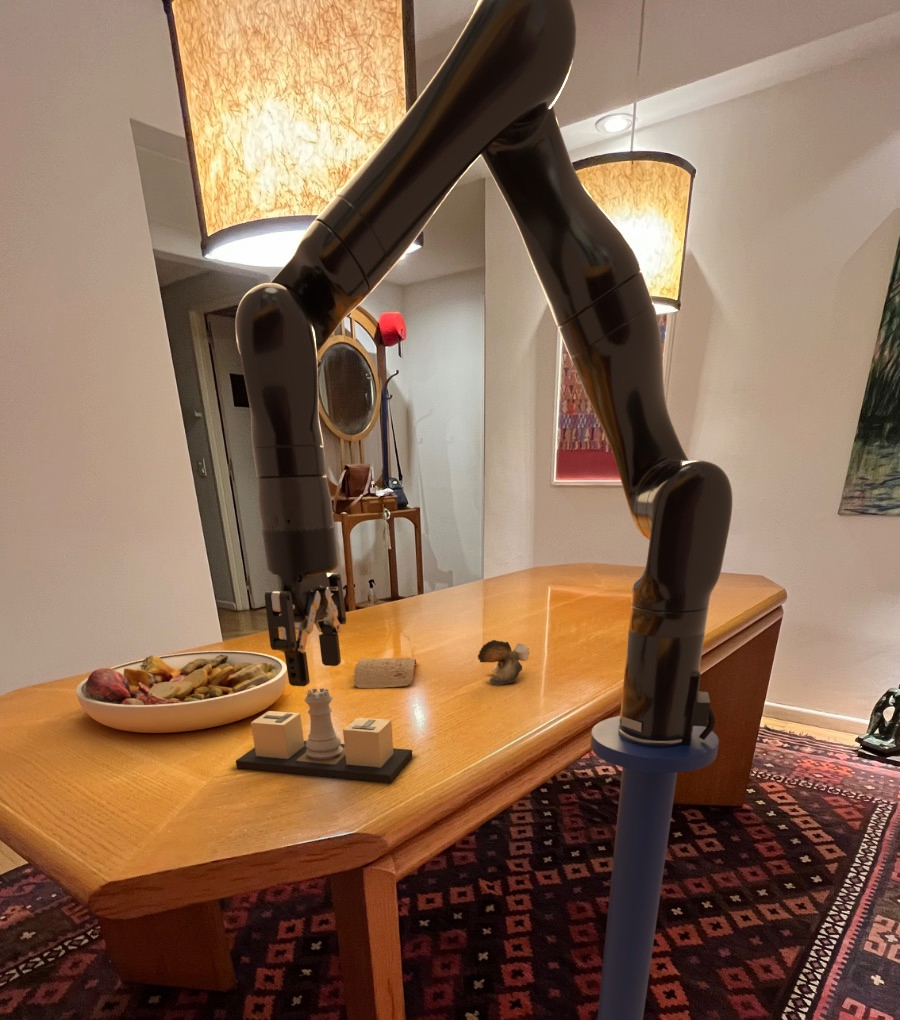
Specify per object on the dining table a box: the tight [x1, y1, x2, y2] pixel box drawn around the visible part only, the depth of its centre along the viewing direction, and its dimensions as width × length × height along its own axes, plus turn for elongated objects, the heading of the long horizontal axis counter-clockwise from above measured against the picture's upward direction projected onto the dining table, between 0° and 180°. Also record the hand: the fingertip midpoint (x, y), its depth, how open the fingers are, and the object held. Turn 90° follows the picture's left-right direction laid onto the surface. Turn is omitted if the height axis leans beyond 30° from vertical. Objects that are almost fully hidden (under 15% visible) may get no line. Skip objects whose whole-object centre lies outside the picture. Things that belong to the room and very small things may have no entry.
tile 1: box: [250, 710, 305, 759], centre depth 83 cm, size 4×4×4 cm
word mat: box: [235, 740, 413, 784], centre depth 83 cm, size 20×8×1 cm, turn 75°
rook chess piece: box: [304, 687, 342, 760], centre depth 81 cm, size 4×4×8 cm
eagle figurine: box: [477, 639, 530, 686], centre depth 113 cm, size 8×7×9 cm
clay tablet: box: [353, 657, 417, 689], centre depth 117 cm, size 14×10×3 cm
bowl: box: [75, 650, 288, 734], centre depth 103 cm, size 30×30×8 cm
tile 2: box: [342, 717, 394, 768], centre depth 80 cm, size 4×4×4 cm
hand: (316, 674), depth 78 cm, fingers open, 8 cm apart
